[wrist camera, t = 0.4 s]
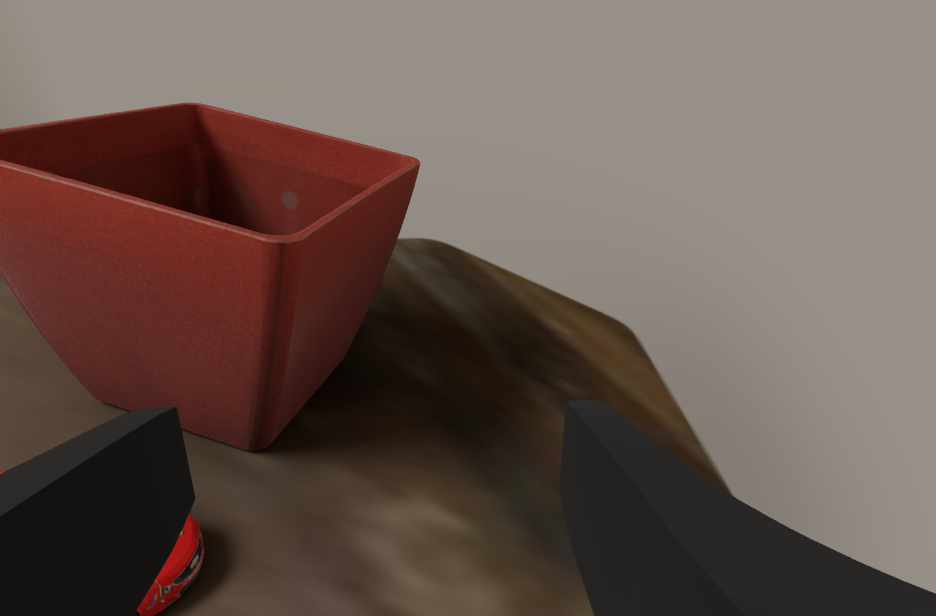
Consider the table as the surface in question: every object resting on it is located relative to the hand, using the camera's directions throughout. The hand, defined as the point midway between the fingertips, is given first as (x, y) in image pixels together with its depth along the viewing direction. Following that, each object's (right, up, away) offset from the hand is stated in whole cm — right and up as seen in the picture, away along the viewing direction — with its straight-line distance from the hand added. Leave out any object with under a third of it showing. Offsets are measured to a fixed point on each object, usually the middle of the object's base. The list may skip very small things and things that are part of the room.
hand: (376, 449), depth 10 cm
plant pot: (-16, -3, +31) cm, 34 cm away
